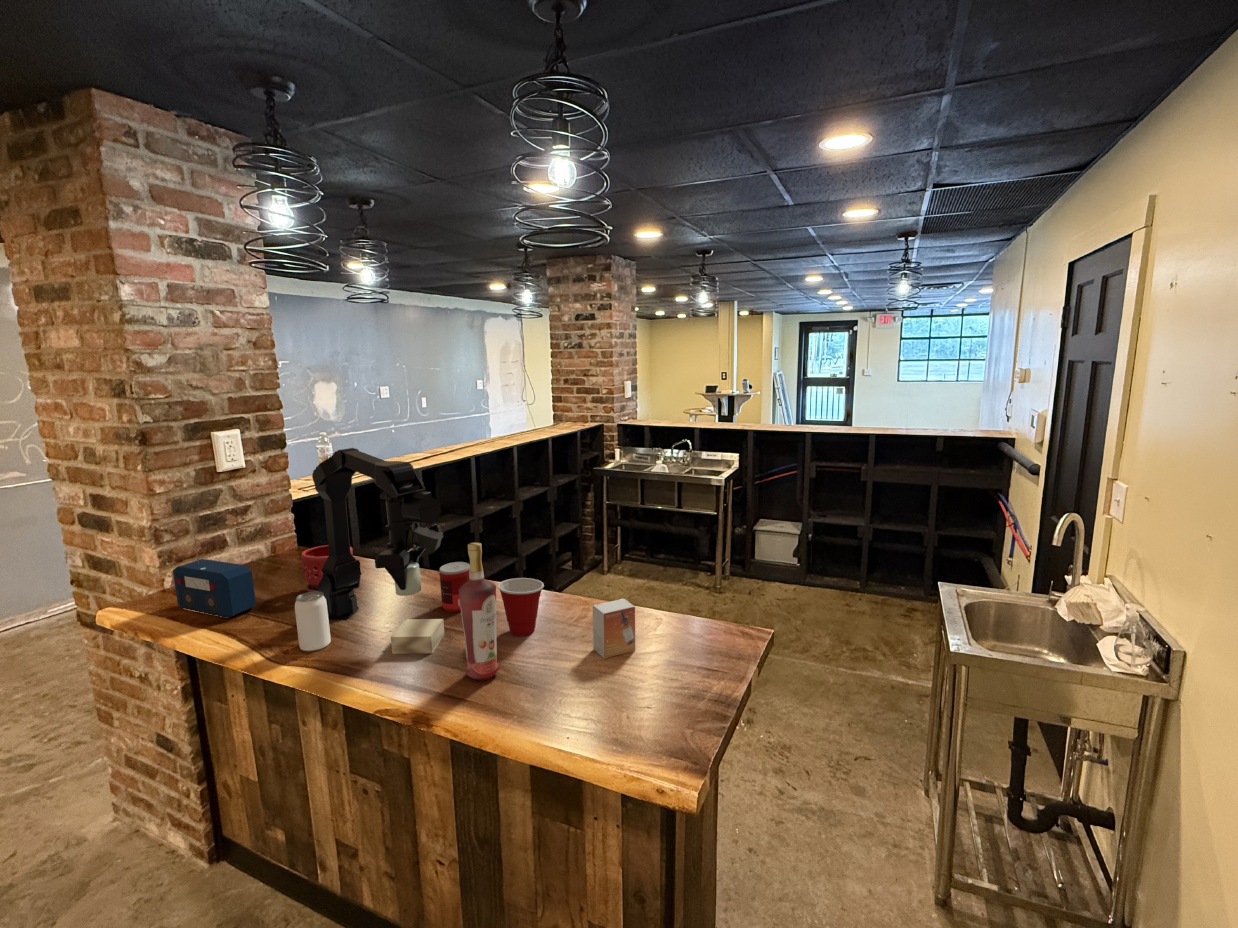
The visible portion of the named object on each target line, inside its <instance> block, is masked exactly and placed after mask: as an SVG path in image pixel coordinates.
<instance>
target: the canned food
mask: <svg viewBox="0 0 1238 928" xmlns="http://www.w3.org/2000/svg"><path fill="white" fill-rule="evenodd" d="M469 575H470V563H469V562H464V561H455V562H449V563H445V564H444V565H442V566H440V567H439V582H440V583H439V584H440V595H441V607H442V609H443V610H444V611H445V612H449V613H458V612H461V607H460V598H459V588H460V587H461V586H463V585H464V584H465V583H467V582H469Z"/></svg>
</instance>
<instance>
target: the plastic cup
mask: <svg viewBox="0 0 1238 928" xmlns="http://www.w3.org/2000/svg"><path fill="white" fill-rule="evenodd" d="M544 587H545V585H544V582H542V581H541V580H539V579H535V578H530V577H529V578H527V577H516V578H509V579H505V580H502V581H500V582H499V583H498V584H497V589H498V590H499V592H500V595H501V600H502V602H503V607H504V612H505V616H506V621H507V623H508V629H509V631H510V634H511V635H512V636H514V637H527V636H530V635H531V634H533V633H534V632H535V629H536V624H537V619H538V611H539V604H540V598H541V594H542V590H543V589H544Z"/></svg>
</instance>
